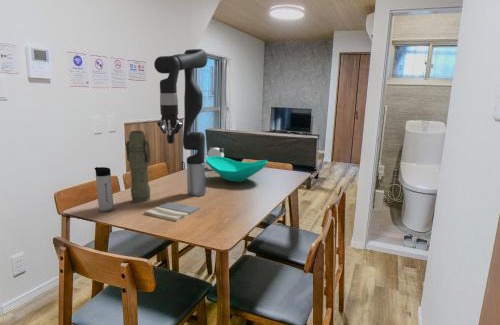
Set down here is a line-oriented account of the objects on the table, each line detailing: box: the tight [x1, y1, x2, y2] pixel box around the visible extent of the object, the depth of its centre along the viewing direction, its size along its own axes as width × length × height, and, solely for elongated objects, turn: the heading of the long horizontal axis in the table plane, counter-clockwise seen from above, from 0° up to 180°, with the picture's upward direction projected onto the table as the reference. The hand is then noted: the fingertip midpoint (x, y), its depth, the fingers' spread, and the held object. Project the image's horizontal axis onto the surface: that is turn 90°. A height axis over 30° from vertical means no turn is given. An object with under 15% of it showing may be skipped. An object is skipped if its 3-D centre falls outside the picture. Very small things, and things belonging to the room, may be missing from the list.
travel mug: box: [94, 166, 115, 213], centre depth 151 cm, size 6×7×20 cm
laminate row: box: [157, 201, 201, 215], centre depth 153 cm, size 8×18×2 cm, turn 64°
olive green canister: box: [125, 130, 151, 204], centre depth 162 cm, size 9×12×35 cm
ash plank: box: [143, 206, 190, 222], centre depth 146 cm, size 8×18×2 cm, turn 64°
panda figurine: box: [207, 146, 225, 171], centre depth 237 cm, size 12×11×15 cm
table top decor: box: [205, 156, 268, 183], centre depth 205 cm, size 40×28×13 cm
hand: (170, 143), depth 148 cm, fingers closed
